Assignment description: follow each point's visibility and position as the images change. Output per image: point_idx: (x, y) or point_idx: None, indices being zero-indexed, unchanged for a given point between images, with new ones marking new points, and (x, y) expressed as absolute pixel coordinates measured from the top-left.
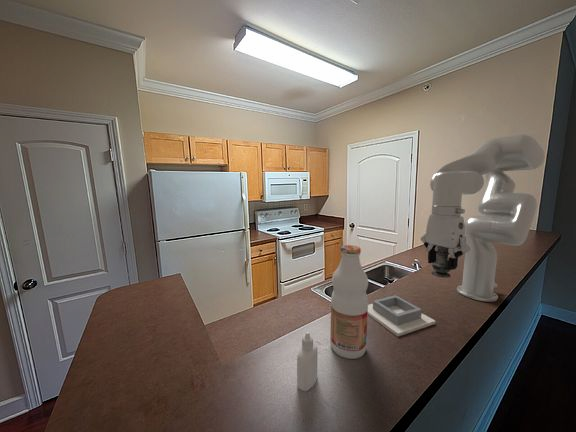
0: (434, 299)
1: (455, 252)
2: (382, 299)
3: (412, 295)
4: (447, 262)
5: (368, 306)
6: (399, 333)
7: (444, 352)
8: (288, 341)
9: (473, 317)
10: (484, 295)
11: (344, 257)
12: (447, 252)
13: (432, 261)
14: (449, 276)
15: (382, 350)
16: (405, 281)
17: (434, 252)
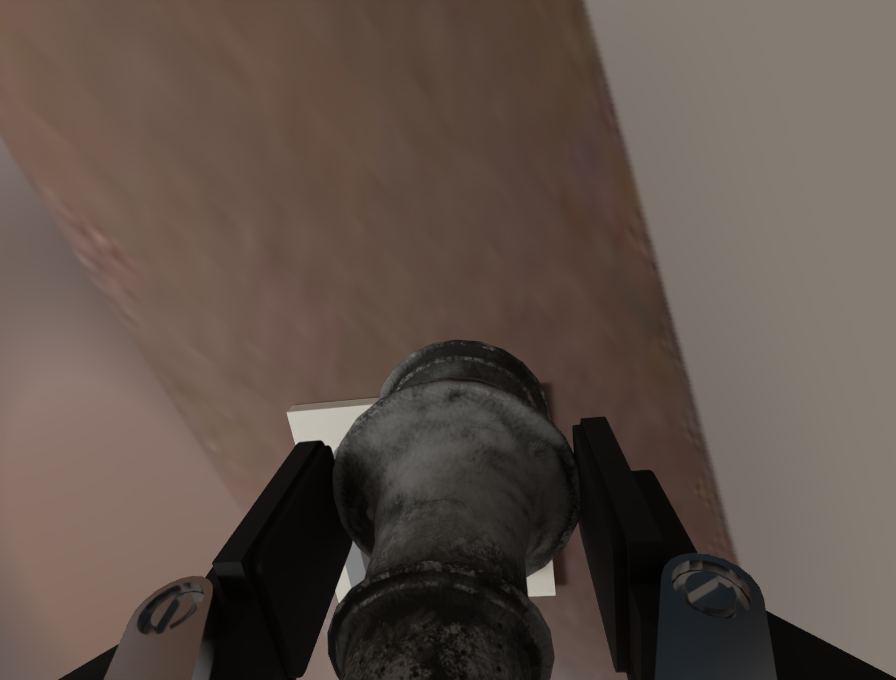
0: (318, 157)
1: (687, 671)
2: (353, 562)
3: (249, 258)
4: (530, 520)
5: (344, 575)
6: (554, 586)
7: (690, 504)
8: None
9: (559, 113)
10: None
11: None
12: (529, 677)
13: (343, 524)
14: (546, 408)
15: (594, 665)
16: (32, 131)
17: (278, 604)
